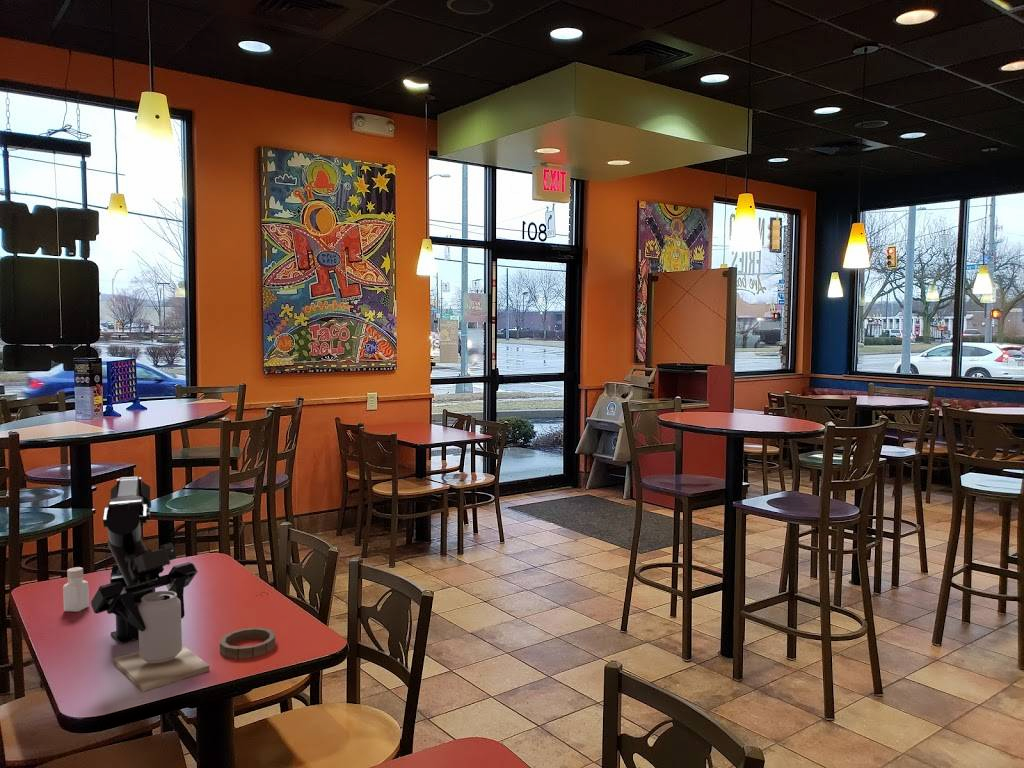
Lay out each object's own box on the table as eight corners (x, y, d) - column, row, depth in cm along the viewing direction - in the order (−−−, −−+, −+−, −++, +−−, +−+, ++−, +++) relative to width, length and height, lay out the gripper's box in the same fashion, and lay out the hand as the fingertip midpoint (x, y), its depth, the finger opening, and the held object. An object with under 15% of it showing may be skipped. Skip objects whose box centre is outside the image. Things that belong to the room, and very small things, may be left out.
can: (186, 658, 144) (184, 597, 143) (143, 668, 139) (141, 605, 138) (177, 644, 150) (175, 585, 149) (135, 654, 145) (133, 593, 144)
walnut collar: (211, 647, 153) (211, 637, 153) (260, 632, 161) (260, 623, 161) (234, 663, 146) (234, 653, 146) (284, 647, 153) (284, 638, 153)
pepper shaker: (90, 606, 176) (88, 566, 175) (79, 612, 172) (77, 572, 171) (74, 605, 176) (72, 566, 176) (62, 612, 173) (60, 571, 172)
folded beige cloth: (114, 663, 146) (113, 658, 146) (177, 645, 154) (177, 640, 154) (142, 691, 134) (142, 686, 134) (209, 670, 143) (209, 665, 143)
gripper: (96, 544, 137) (129, 616, 132) (191, 522, 152) (224, 587, 147) (77, 577, 142) (108, 648, 137) (170, 553, 158) (202, 616, 152)
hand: (163, 623), depth 143 cm, fingers closed on can, 7 cm apart
